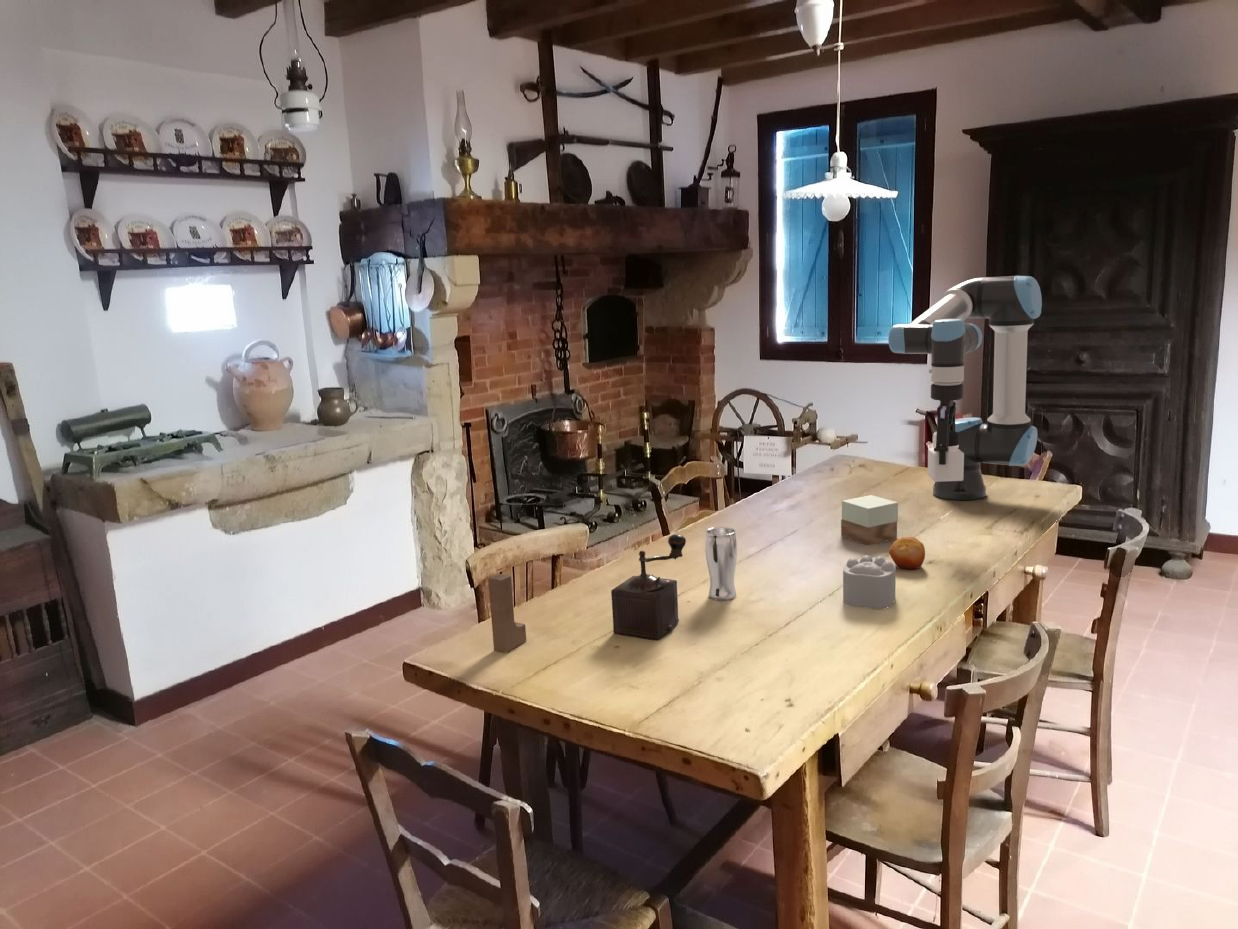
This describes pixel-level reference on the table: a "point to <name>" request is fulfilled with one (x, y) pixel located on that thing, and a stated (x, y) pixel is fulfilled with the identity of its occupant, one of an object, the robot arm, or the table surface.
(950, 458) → the medicine bottle
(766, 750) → the table surface
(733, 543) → the beer glass
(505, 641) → the wooden block
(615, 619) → the coffee grinder
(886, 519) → the sage slab
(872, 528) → the walnut slab
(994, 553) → the table surface
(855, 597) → the lumpy-topped squat cylinder
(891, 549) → the fruit
